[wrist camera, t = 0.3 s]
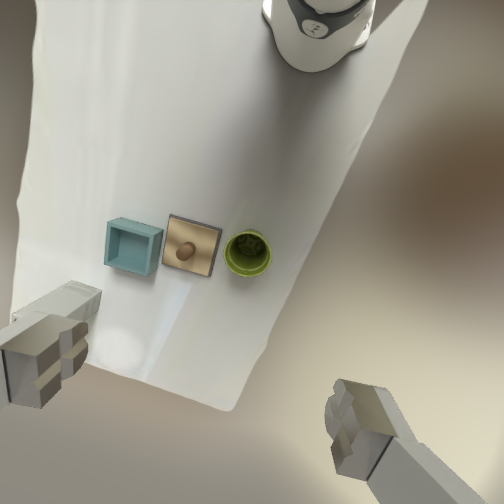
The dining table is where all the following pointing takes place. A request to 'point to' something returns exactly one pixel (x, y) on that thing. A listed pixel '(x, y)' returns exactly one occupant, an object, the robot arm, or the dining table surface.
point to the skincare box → (66, 302)
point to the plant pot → (247, 254)
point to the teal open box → (132, 246)
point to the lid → (189, 246)
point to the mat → (203, 226)
